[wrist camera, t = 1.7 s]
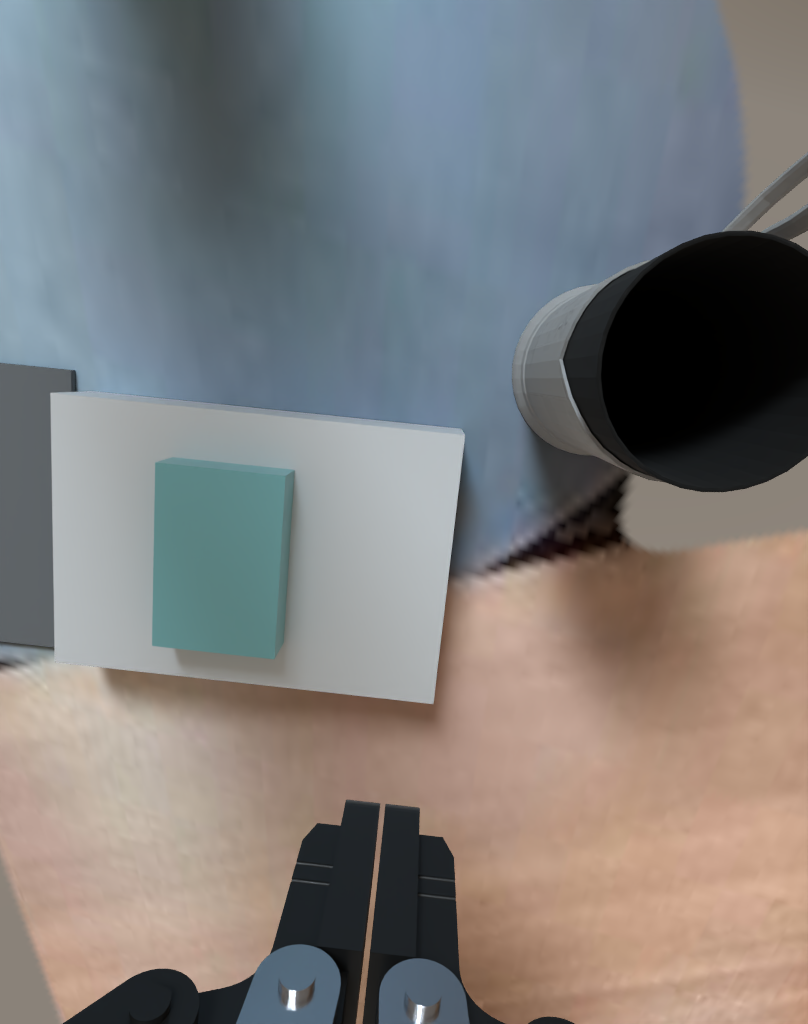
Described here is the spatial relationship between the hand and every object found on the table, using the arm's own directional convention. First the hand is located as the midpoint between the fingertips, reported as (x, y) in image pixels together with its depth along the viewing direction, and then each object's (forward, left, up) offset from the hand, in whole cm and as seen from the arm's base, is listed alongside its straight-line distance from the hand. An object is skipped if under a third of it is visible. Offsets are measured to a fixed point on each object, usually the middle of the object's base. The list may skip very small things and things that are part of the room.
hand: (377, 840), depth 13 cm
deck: (0, -8, -23) cm, 24 cm away
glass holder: (-13, +10, -23) cm, 28 cm away
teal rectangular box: (0, -9, -19) cm, 21 cm away
